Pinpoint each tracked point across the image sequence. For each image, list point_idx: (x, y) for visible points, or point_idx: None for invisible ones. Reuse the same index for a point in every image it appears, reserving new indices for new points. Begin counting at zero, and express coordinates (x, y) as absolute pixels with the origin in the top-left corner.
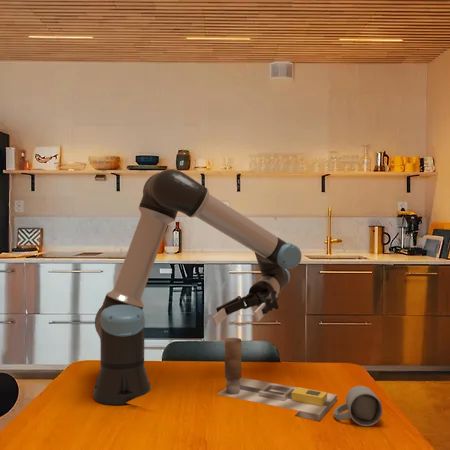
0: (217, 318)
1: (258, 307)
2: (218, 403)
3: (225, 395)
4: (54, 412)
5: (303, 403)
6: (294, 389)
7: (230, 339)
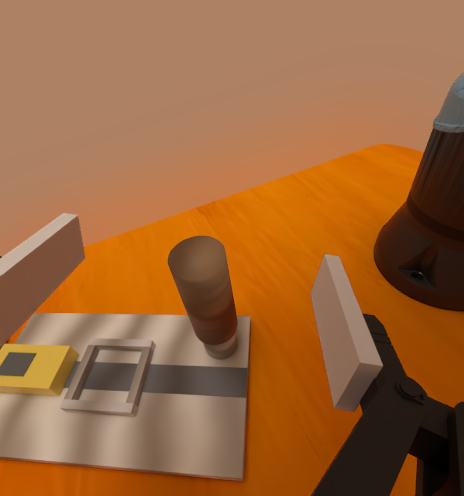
0: (324, 287)
1: (34, 248)
2: (238, 308)
3: None
4: None
5: None
6: (62, 438)
7: (206, 254)
